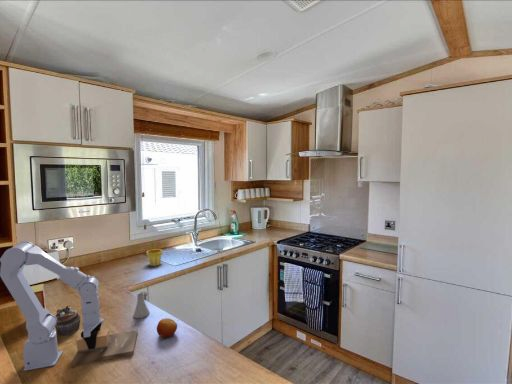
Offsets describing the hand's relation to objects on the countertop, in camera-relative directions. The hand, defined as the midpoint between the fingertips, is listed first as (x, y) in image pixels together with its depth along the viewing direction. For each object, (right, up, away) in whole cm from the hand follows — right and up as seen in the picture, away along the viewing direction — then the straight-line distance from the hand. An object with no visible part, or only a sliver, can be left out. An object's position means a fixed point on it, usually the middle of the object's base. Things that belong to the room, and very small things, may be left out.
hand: (93, 344), depth 110 cm
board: (+4, -2, +2) cm, 5 cm away
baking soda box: (-38, -1, +22) cm, 43 cm away
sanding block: (0, -1, 0) cm, 1 cm away
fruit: (+25, -1, +9) cm, 27 cm away
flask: (+8, 0, +26) cm, 27 cm away
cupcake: (-19, -2, +15) cm, 24 cm away
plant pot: (-10, +6, +95) cm, 96 cm away
